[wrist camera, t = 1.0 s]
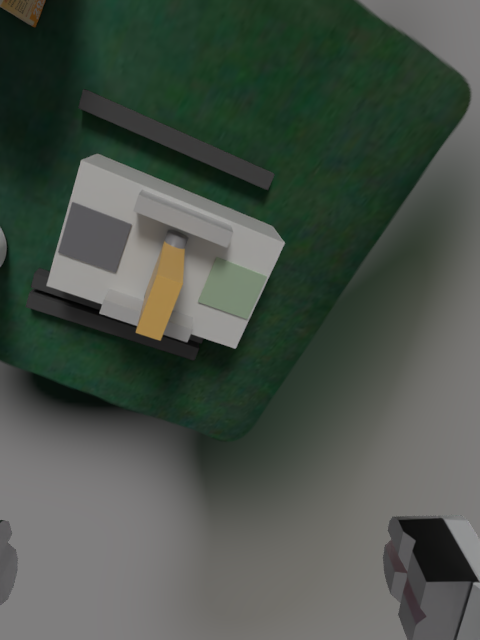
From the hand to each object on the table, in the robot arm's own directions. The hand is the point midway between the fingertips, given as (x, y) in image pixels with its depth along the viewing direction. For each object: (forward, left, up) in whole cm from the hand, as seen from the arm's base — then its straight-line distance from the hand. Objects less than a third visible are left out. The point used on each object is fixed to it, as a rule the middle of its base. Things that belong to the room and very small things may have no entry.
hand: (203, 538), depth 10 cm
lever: (-1, -3, -26) cm, 27 cm away
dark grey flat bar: (-3, -10, -33) cm, 35 cm away
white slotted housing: (-1, -3, -33) cm, 34 cm away
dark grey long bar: (-3, +6, -33) cm, 34 cm away
